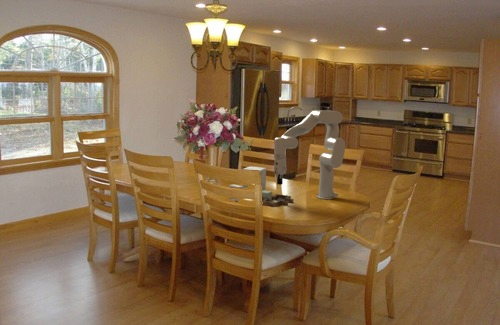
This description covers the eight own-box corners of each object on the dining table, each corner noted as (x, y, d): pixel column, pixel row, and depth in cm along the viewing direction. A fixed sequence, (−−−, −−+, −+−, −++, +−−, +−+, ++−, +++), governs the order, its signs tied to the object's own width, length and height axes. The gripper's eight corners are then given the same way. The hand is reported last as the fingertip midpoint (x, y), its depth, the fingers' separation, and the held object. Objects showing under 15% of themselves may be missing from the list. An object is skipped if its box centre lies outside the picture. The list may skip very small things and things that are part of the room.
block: (271, 200, 329) (271, 191, 328) (267, 202, 323) (267, 193, 322) (263, 199, 331) (263, 190, 330) (259, 200, 326) (259, 191, 325)
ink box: (243, 204, 315) (243, 186, 313) (237, 205, 312) (238, 187, 310) (233, 201, 321) (234, 183, 319) (228, 202, 317) (228, 184, 316)
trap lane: (297, 200, 329) (298, 193, 329) (282, 207, 308) (283, 200, 308) (266, 196, 340) (267, 189, 339) (250, 202, 319) (250, 195, 318)
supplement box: (248, 189, 359) (249, 166, 356) (265, 191, 354) (266, 167, 351) (241, 193, 347) (242, 168, 344) (258, 195, 342) (259, 170, 339)
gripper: (280, 158, 310) (280, 187, 313) (290, 155, 323) (289, 182, 326) (269, 157, 314) (269, 185, 317) (279, 154, 327) (279, 181, 330)
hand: (279, 184), depth 322 cm, fingers closed
